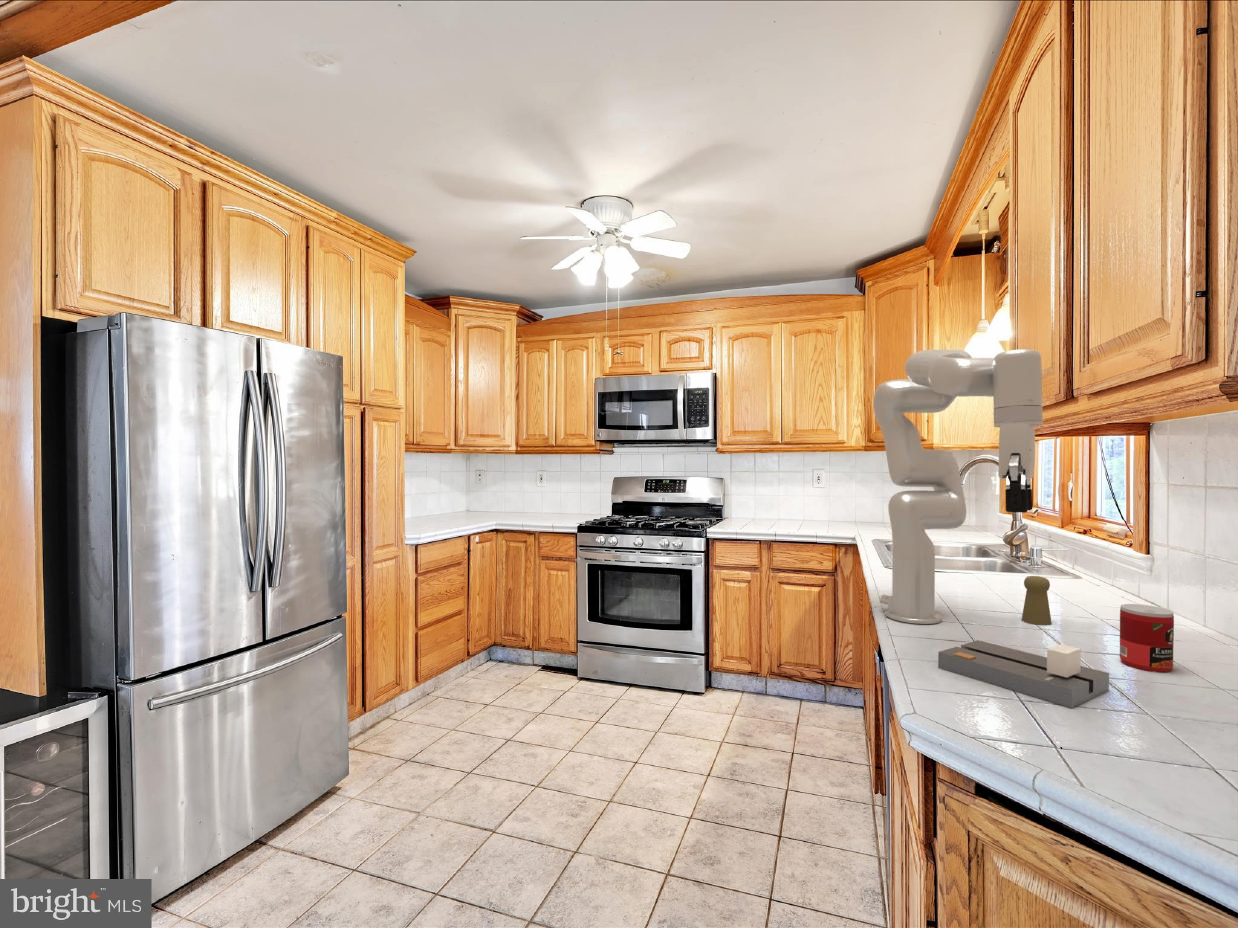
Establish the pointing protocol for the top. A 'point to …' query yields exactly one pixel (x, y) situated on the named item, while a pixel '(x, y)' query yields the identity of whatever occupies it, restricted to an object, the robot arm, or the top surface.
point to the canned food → (1146, 637)
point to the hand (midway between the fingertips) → (1019, 511)
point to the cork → (1036, 601)
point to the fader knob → (1063, 660)
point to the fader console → (1023, 673)
